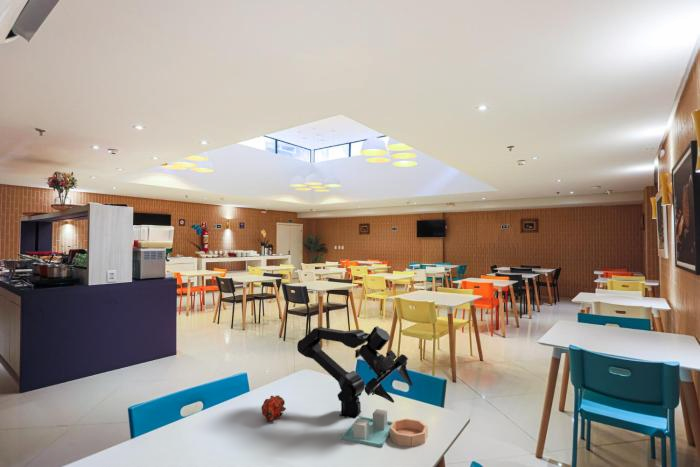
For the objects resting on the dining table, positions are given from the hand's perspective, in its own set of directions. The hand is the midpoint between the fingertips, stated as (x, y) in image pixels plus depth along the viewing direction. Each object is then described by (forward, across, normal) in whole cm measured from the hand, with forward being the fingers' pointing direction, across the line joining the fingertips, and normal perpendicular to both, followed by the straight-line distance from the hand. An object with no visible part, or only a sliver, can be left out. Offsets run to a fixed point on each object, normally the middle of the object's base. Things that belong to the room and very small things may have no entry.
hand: (403, 393), depth 128 cm
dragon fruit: (-26, -36, +24) cm, 50 cm away
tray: (+1, -15, +8) cm, 17 cm away
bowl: (+11, -7, +3) cm, 13 cm away
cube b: (+2, -10, +10) cm, 14 cm away
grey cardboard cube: (+1, -19, +6) cm, 20 cm away
